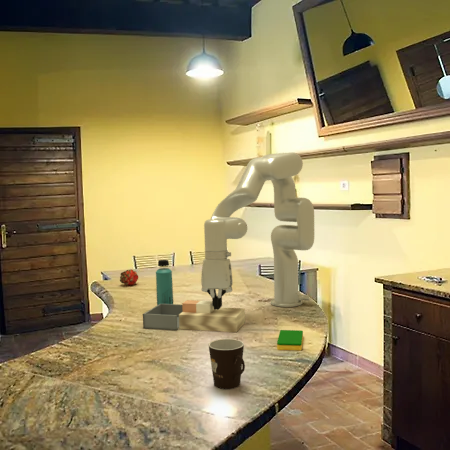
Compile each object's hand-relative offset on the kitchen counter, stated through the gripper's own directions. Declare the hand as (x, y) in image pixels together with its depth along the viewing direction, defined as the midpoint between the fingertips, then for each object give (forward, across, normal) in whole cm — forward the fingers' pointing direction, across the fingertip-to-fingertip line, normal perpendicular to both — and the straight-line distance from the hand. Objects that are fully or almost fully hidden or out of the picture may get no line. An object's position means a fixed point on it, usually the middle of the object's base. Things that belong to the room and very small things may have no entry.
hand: (217, 308), depth 177 cm
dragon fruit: (+6, +62, -62) cm, 88 cm away
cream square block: (+1, +4, 0) cm, 4 cm away
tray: (+6, +18, 0) cm, 19 cm away
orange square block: (+1, +9, 0) cm, 9 cm away
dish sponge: (+7, -27, +14) cm, 31 cm away
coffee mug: (+6, -17, +50) cm, 53 cm away
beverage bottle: (+6, +26, -16) cm, 31 cm away
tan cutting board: (+6, +2, 0) cm, 6 cm away
